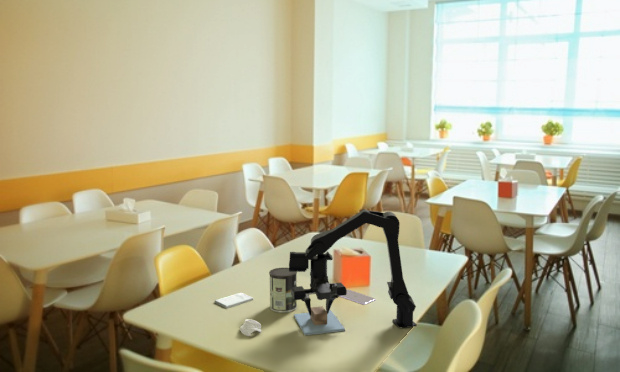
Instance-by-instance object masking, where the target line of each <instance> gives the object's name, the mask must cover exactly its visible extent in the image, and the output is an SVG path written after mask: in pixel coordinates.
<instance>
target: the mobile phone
mask: <svg viewBox="0 0 620 372" xmlns="http://www.w3.org/2000/svg"><path fill="white" fill-rule="evenodd" d="M339 297H340V298H343V299H346V300H349V301H352V302H354V303H357V304H360V305H363V306H365V305H368V304H370V303H373V302H375V301H376V298H374V297H372V296H369V295H366V294H363V293H360V292H356V291H353V290H351V289H347V295H342V296H339Z"/></svg>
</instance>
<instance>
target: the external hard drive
mask: <svg viewBox="0 0 620 372" xmlns="http://www.w3.org/2000/svg"><path fill="white" fill-rule="evenodd" d="M251 301H254V297H253V296H250V295H247V294H246V293H243V292H238V293H234V294H231V295H229V296H225V297H221V298H218V299H215V300H214V303H215V304H217V305H219V306H221V307H223V308H225V309H229V308H232V307H235V306H238V305H239V306H240V305H241V304H244V303H248V302H251Z"/></svg>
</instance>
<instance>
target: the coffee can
mask: <svg viewBox="0 0 620 372" xmlns="http://www.w3.org/2000/svg"><path fill="white" fill-rule="evenodd" d="M297 273H298V272H289V267H275V268H272V269H270V270H269V272H268V274H269V309H270V311H273V312H275V313H282V314H283V313H284V314H286V313H291V312H294V311H295V310H297V308H298V304H297V301H298V300H294V298H293V297H292V295H291V289H292V287H298V286H297V282H298V281H297Z"/></svg>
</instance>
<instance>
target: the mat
mask: <svg viewBox="0 0 620 372" xmlns="http://www.w3.org/2000/svg"><path fill="white" fill-rule="evenodd" d="M293 317H294V319H295V320H296V322H297V324H298V327H300V330H301V332H302V333H303V335H304V336H311V335H320V334H329V333H337V332H345V331H346V329H345V326H344V325H343V324H342V323H341V321H340V319H338V318H337V316H336V314H334V312H333V311H332V310H331V309H330V310H329V313H328V314H327V324H322V325H314V323H313V322H312V320H311V319H310V315H309V313H308V312H304V313H303V312H302V313H294V314H293Z"/></svg>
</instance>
